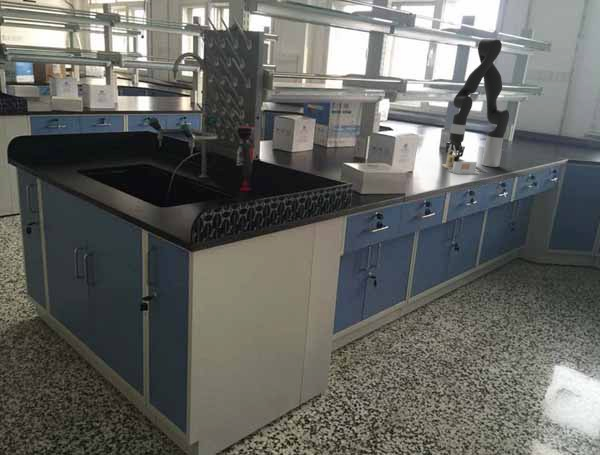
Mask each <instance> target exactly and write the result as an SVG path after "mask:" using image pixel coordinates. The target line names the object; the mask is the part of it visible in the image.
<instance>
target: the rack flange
mask: <svg viewBox="0 0 600 455" xmlns="http://www.w3.org/2000/svg"><path fill="white" fill-rule="evenodd" d="M477 163H478V162H477V161H473V160H472V161H467V160H464V161H454V164H453V169H448V172H450V173H453V174H456V175H479V174H480V172H478V171H476V170H477V169H476V166H477Z"/></svg>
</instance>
